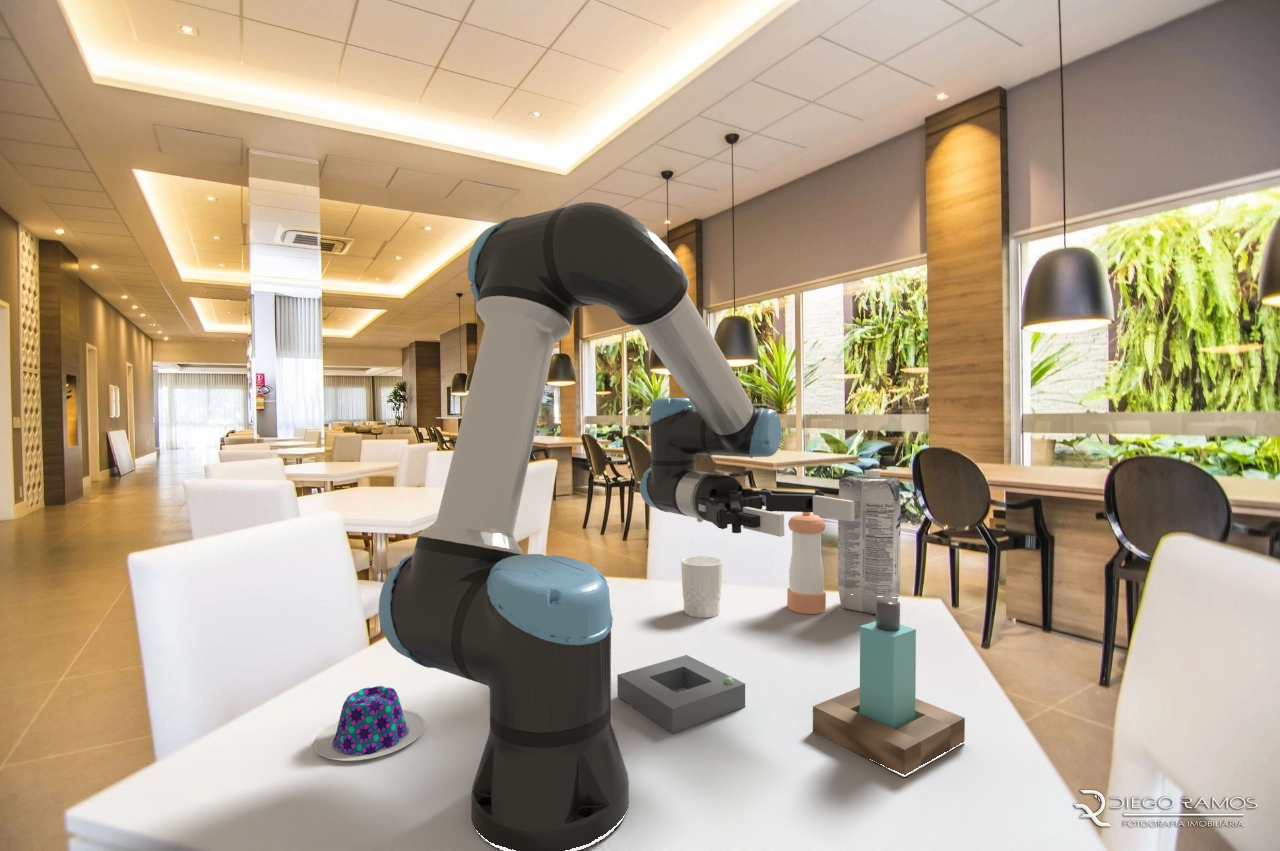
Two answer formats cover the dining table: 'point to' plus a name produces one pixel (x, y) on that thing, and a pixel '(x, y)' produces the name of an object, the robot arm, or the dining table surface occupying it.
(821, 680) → the dining table surface
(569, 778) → the robot arm
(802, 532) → the pepper shaker
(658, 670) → the port
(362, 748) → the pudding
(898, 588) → the juice carton
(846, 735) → the holster
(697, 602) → the white cup
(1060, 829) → the dining table surface
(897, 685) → the plug
